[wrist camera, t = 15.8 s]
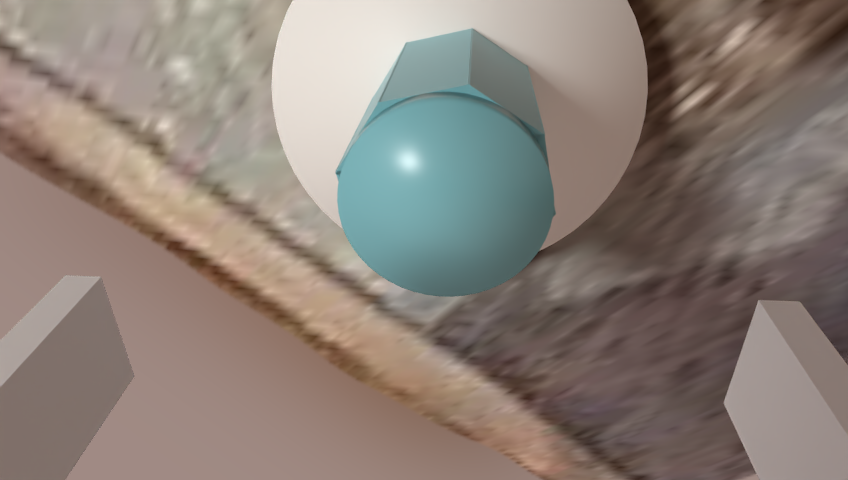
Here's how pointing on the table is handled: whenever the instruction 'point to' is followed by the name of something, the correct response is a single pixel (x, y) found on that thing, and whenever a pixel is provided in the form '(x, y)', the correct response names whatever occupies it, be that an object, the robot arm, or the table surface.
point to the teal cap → (448, 169)
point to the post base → (504, 26)
